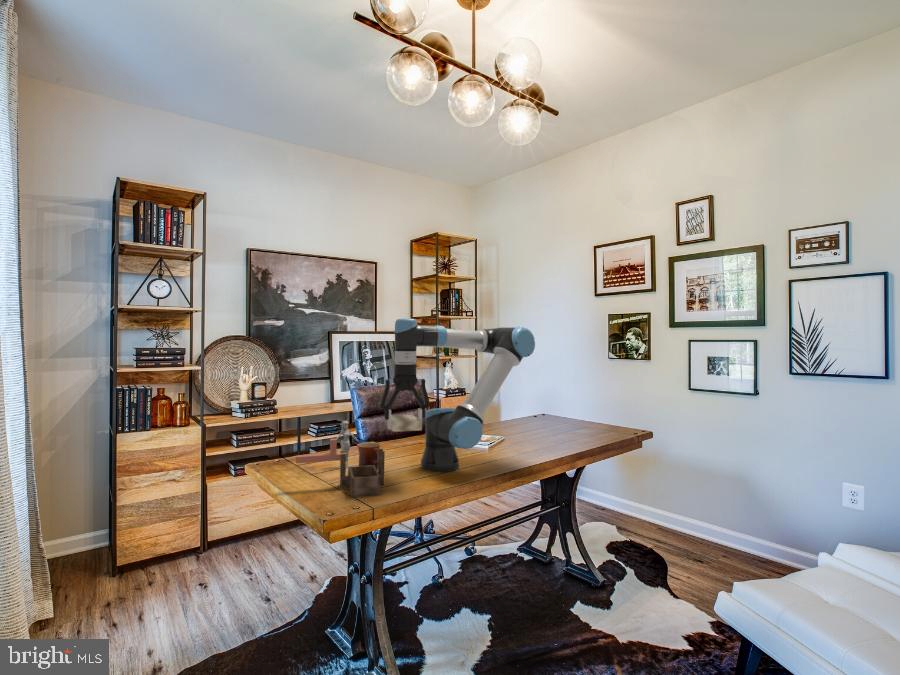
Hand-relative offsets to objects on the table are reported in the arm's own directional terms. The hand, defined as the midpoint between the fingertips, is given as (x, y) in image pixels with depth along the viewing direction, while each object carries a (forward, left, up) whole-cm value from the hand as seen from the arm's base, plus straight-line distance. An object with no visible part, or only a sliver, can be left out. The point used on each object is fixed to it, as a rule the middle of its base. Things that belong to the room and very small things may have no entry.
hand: (404, 428), depth 161 cm
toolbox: (+14, +1, -20) cm, 24 cm away
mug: (+9, -18, -20) cm, 28 cm away
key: (+28, -3, -10) cm, 30 cm away
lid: (0, -4, 0) cm, 4 cm away
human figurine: (+18, -28, -20) cm, 39 cm away
